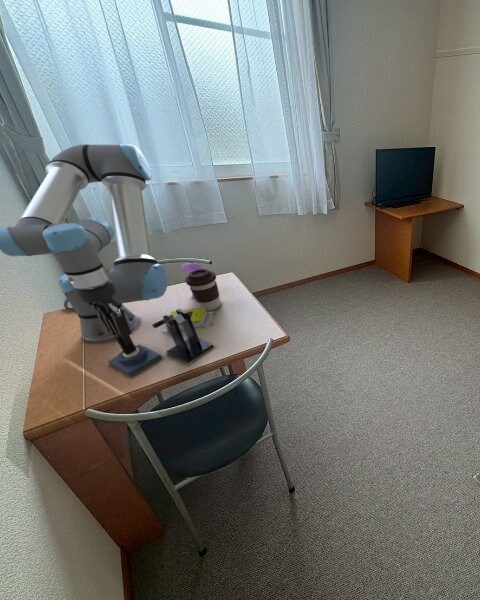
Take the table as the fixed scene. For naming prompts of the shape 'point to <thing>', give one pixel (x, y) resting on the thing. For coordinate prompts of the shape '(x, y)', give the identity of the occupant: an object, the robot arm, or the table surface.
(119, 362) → the button block
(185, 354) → the stand
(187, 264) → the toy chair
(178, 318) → the lever
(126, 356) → the button
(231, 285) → the table surface
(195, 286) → the coffee cup
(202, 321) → the yellow grey flat box
